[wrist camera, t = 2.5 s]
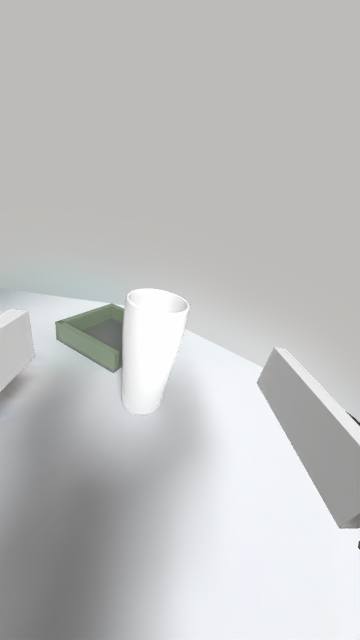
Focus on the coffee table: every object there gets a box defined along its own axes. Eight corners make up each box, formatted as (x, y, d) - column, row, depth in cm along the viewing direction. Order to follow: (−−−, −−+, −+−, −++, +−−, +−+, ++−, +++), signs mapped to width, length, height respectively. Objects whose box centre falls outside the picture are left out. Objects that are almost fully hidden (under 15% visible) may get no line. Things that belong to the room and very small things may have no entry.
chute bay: (56, 339, 34) (55, 322, 32) (111, 317, 45) (112, 303, 43) (113, 372, 30) (114, 354, 28) (158, 339, 41) (160, 325, 39)
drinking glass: (146, 434, 22) (170, 322, 16) (103, 403, 25) (109, 295, 18) (174, 397, 28) (200, 303, 22) (137, 375, 30) (151, 284, 24)
